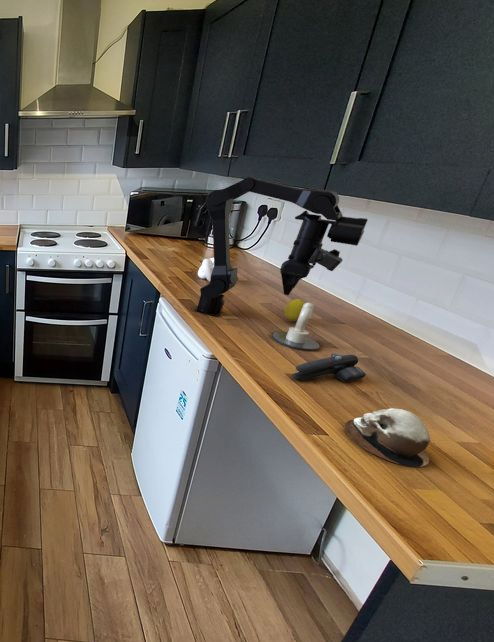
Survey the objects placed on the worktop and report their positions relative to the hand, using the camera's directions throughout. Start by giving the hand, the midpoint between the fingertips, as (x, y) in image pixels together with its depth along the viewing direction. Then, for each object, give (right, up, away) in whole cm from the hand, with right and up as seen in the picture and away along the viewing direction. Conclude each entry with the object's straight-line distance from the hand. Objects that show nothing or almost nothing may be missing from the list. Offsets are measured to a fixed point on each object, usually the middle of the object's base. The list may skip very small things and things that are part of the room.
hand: (289, 291), depth 117 cm
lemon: (+10, -9, +12) cm, 18 cm away
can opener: (-7, -22, -19) cm, 30 cm away
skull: (-14, -32, -41) cm, 54 cm away
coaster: (0, -15, -2) cm, 15 cm away
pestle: (0, -14, -2) cm, 14 cm away
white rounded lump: (+7, +13, +50) cm, 52 cm away
